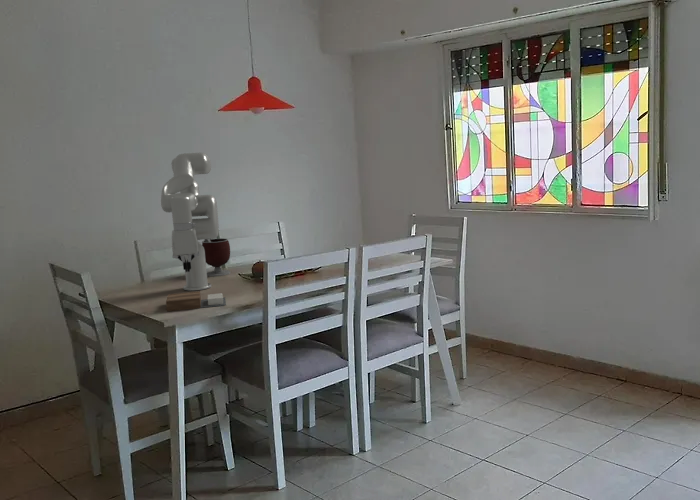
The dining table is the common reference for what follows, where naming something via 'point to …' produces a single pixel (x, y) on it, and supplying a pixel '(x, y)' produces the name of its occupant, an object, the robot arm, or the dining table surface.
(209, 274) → the mate gourd
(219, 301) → the tile
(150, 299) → the dining table surface
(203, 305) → the mat
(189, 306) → the panel
